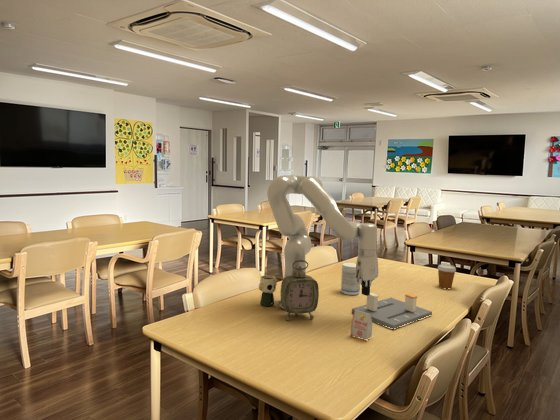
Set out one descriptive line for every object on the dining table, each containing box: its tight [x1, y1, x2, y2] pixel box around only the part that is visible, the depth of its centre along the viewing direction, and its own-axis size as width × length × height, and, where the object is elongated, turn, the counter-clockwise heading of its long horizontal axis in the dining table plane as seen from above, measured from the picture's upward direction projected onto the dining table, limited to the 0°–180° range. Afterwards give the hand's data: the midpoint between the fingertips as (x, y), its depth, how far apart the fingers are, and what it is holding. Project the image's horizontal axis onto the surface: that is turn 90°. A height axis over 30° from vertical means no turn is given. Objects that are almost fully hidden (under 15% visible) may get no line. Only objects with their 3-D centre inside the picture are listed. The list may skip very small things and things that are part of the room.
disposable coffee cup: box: [437, 263, 457, 290], centre depth 223 cm, size 10×10×12 cm
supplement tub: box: [340, 262, 361, 296], centre depth 208 cm, size 10×10×15 cm
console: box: [351, 297, 433, 329], centre depth 180 cm, size 28×22×2 cm
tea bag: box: [350, 310, 373, 339], centre depth 155 cm, size 4×7×10 cm, turn 52°
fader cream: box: [365, 292, 379, 311], centre depth 178 cm, size 3×4×7 cm, turn 38°
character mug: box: [258, 274, 278, 307], centre depth 185 cm, size 11×7×13 cm, turn 136°
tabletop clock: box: [280, 260, 320, 322], centre depth 171 cm, size 14×9×25 cm, turn 105°
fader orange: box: [404, 293, 418, 312], centre depth 179 cm, size 3×4×7 cm, turn 38°
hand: (365, 294), depth 174 cm, fingers closed
